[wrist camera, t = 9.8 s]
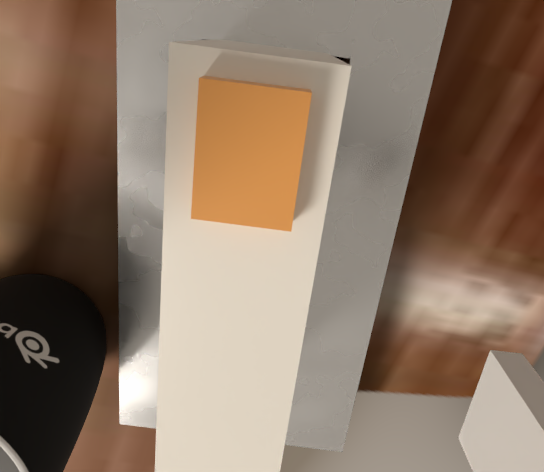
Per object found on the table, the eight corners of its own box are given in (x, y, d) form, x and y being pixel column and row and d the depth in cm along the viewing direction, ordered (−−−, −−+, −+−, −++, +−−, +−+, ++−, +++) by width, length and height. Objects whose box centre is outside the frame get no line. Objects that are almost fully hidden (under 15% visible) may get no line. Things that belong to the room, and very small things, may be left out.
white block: (205, 326, 25) (148, 509, 15) (227, 38, 19) (161, 42, 10) (281, 336, 25) (272, 525, 15) (325, 51, 19) (355, 67, 10)
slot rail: (134, 391, 28) (119, 423, 25) (137, -69, 19) (115, -83, 16) (338, 417, 28) (342, 451, 25) (440, -28, 19) (461, -37, 16)
